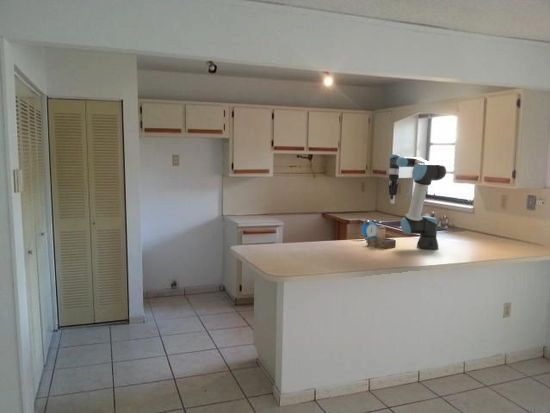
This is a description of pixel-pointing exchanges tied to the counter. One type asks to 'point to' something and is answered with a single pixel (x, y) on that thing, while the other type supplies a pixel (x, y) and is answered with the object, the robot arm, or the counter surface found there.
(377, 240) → the tray
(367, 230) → the alarm clock
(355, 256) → the counter surface
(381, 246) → the stand
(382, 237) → the canister
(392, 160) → the robot arm
